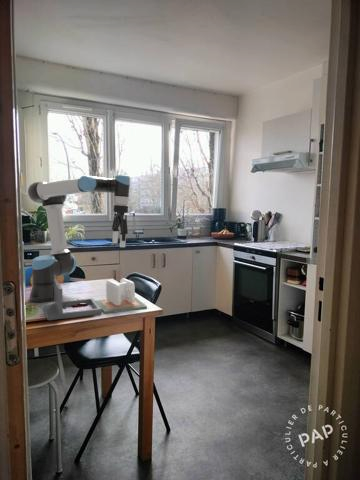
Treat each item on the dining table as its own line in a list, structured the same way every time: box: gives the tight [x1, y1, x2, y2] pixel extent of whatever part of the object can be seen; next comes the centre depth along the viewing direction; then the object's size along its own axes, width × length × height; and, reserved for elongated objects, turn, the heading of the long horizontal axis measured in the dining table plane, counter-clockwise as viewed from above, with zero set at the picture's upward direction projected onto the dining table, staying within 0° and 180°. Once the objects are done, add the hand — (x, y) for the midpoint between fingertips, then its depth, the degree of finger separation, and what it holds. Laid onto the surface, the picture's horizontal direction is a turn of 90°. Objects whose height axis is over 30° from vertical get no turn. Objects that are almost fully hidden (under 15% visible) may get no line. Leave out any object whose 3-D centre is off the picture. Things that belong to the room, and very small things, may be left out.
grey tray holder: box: [43, 279, 103, 321], centre depth 169 cm, size 20×24×14 cm
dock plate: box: [95, 297, 148, 314], centre depth 180 cm, size 20×22×1 cm
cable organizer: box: [105, 277, 136, 306], centre depth 180 cm, size 15×11×12 cm
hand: (118, 245), depth 182 cm, fingers open, 13 cm apart
